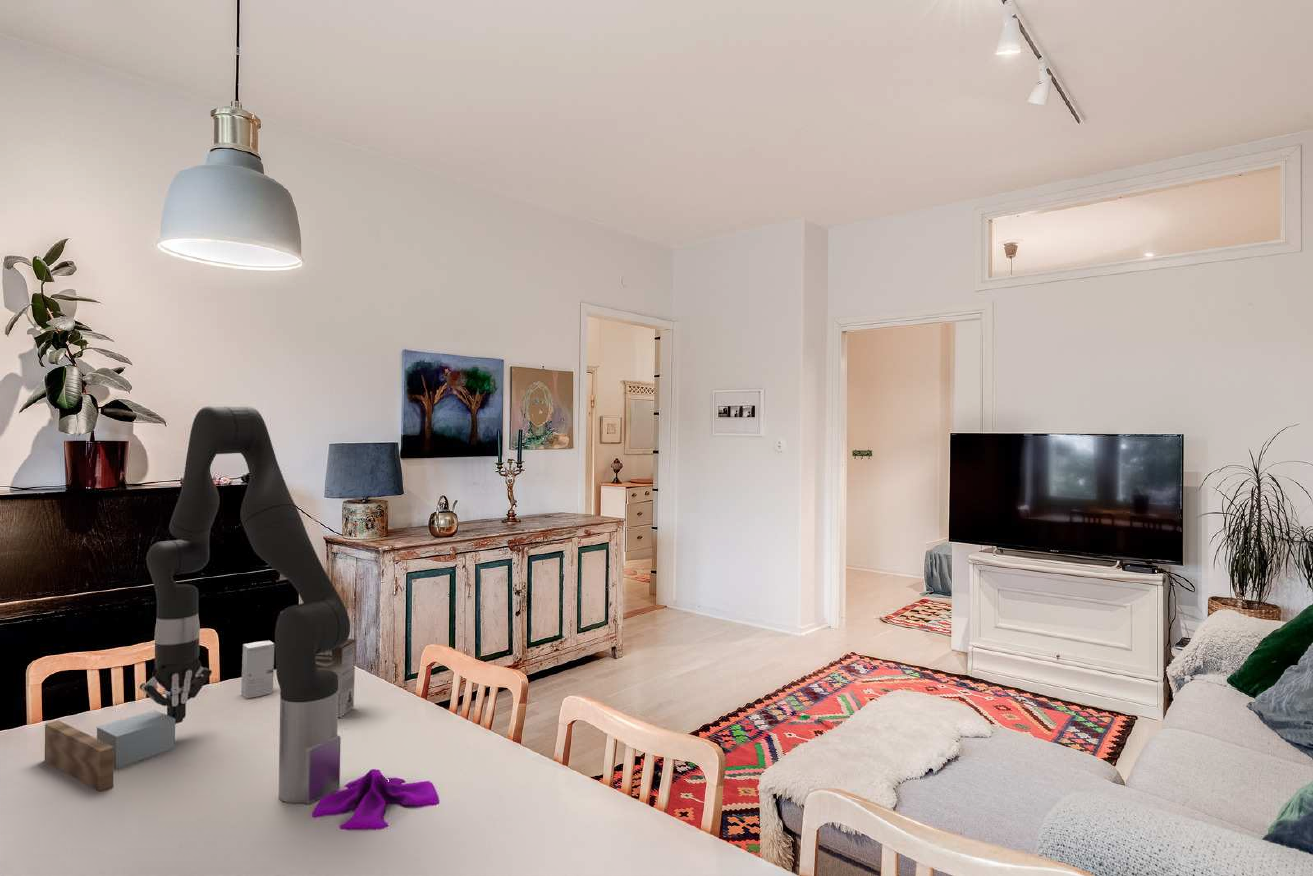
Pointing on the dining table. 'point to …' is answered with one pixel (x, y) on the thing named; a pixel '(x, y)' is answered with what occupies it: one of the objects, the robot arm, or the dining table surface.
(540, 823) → the dining table surface
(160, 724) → the block
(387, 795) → the cloth
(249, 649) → the skincare box
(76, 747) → the plank
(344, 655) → the coffee box
